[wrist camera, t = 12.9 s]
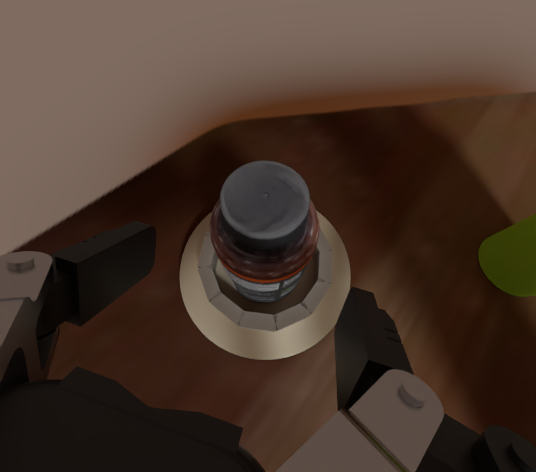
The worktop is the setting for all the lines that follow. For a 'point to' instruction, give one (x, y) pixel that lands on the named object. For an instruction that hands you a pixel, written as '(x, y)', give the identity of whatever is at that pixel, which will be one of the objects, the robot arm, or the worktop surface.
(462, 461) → the robot arm
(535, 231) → the soap dispenser
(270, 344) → the collar plate
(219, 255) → the supplement bottle
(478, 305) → the worktop surface
